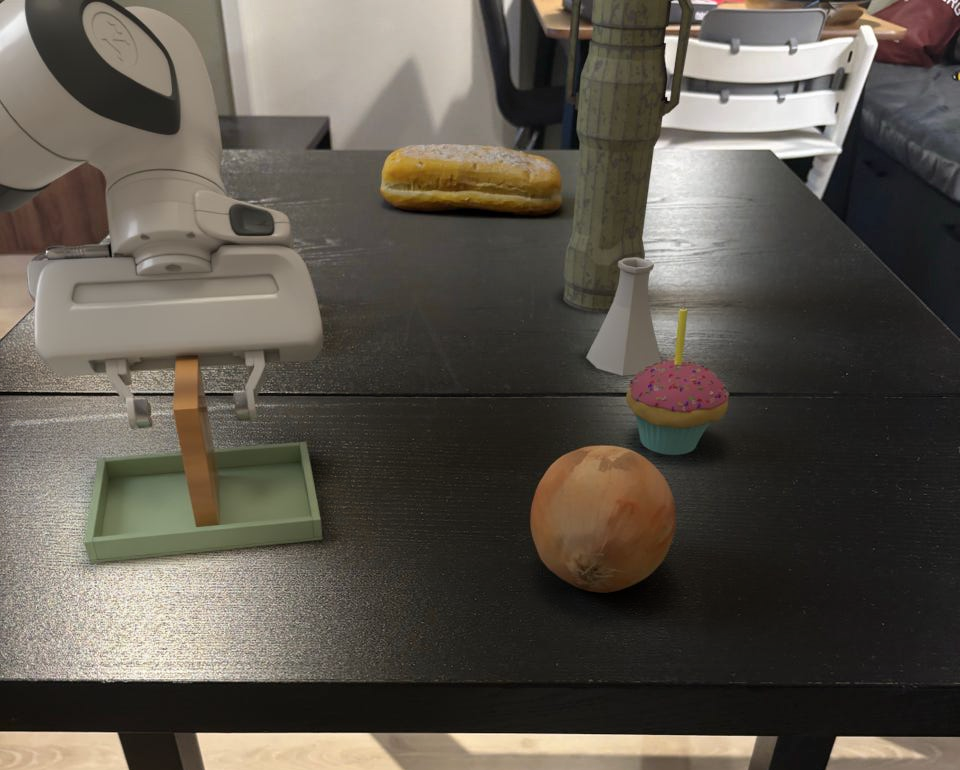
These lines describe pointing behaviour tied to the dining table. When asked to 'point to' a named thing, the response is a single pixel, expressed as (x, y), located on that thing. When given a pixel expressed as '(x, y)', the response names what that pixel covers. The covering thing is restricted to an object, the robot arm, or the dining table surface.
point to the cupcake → (676, 400)
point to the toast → (196, 441)
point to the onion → (602, 518)
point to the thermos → (617, 137)
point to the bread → (470, 179)
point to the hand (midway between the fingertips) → (194, 422)
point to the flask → (627, 324)
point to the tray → (168, 511)
